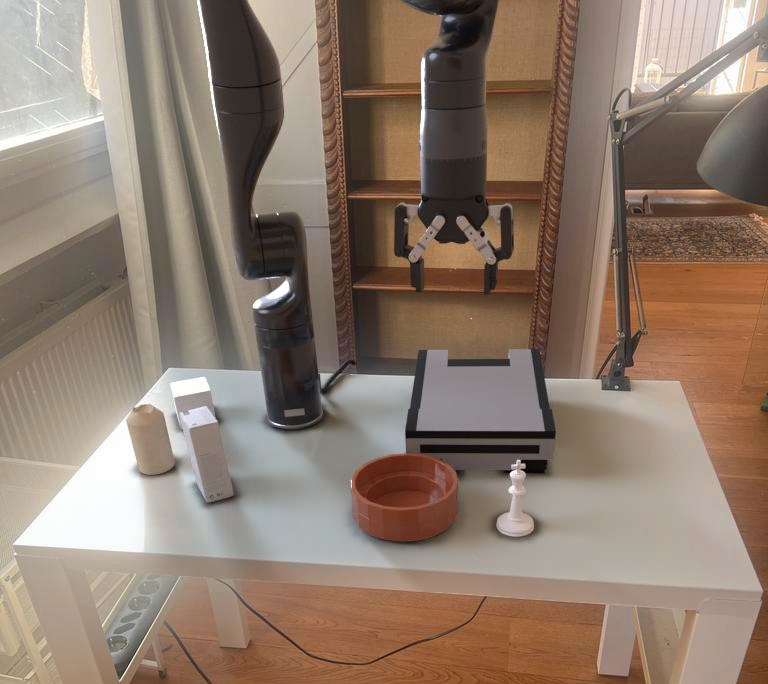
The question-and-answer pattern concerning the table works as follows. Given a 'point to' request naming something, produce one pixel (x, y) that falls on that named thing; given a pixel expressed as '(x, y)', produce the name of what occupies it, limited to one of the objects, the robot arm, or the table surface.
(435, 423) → the game console
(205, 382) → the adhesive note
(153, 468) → the candle
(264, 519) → the table surface
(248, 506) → the table surface
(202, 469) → the cosmetic box
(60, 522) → the table surface
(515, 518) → the chess piece
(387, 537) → the bowl
